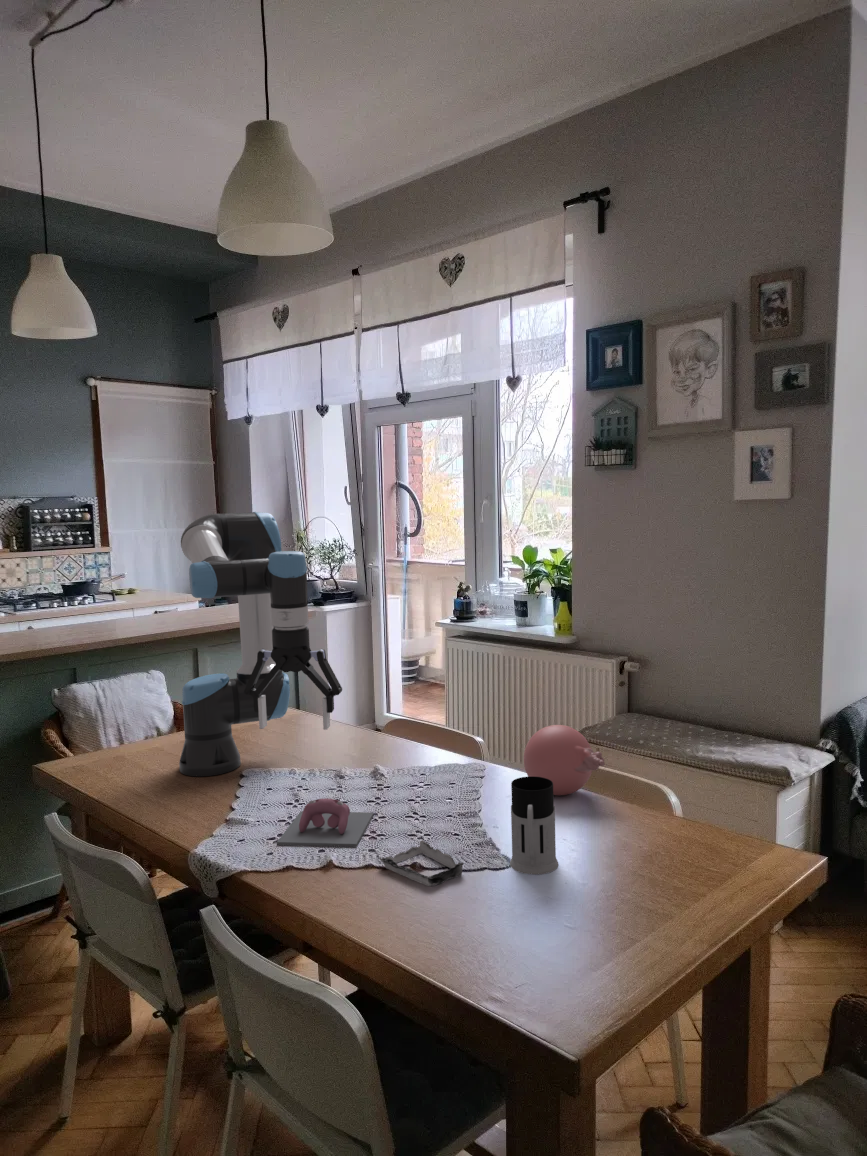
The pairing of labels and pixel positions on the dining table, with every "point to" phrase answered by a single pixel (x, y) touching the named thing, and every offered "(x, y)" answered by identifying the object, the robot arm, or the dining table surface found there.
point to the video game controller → (329, 807)
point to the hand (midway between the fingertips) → (294, 727)
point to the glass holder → (533, 826)
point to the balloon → (561, 758)
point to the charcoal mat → (327, 832)
